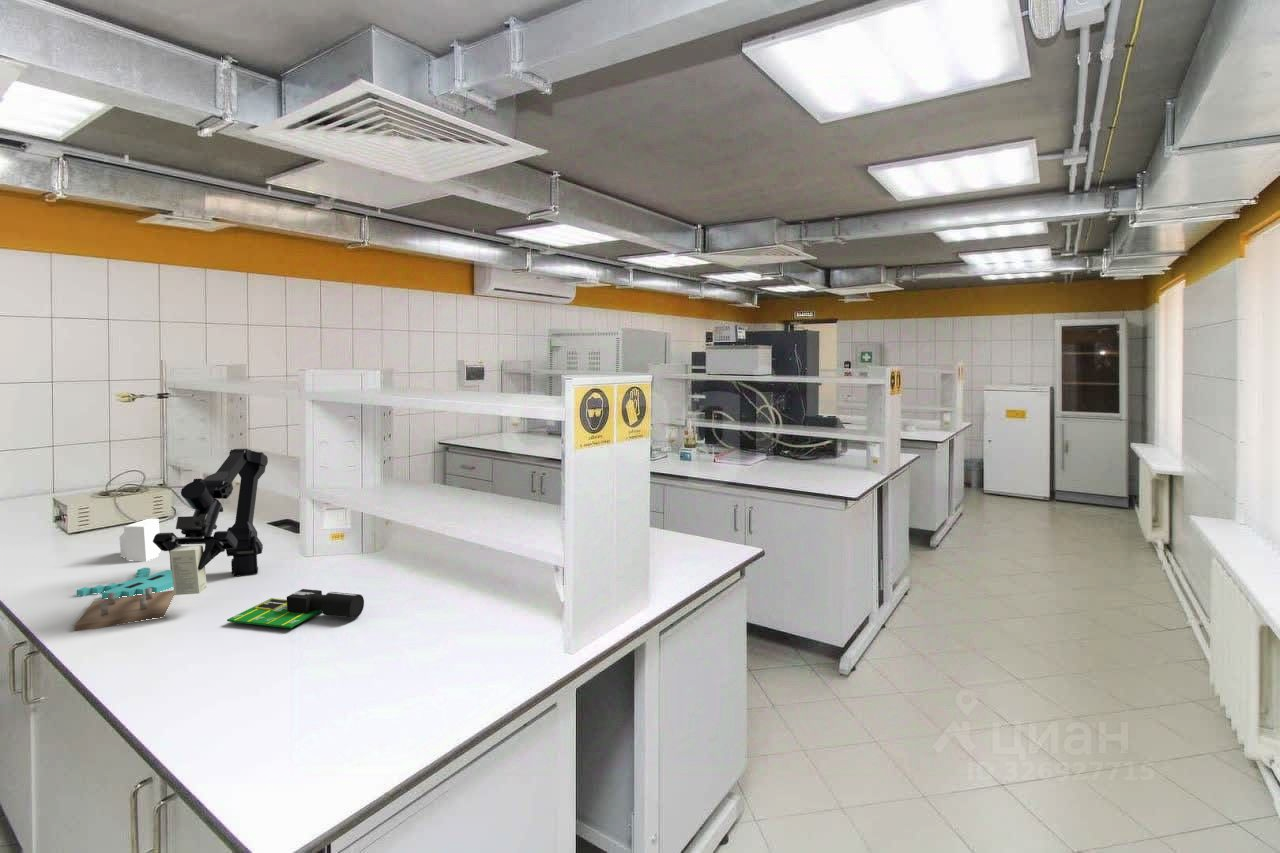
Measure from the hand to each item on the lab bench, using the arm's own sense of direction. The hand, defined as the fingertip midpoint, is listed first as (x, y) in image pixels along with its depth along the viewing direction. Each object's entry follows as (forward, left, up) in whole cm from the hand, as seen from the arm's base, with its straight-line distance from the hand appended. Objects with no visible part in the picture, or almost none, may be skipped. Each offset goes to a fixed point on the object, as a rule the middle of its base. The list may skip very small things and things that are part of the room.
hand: (185, 569), depth 167 cm
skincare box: (0, -1, -7) cm, 7 cm away
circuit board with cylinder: (-26, +16, -13) cm, 33 cm away
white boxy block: (+21, -67, -13) cm, 71 cm away
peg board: (+15, -10, -13) cm, 22 cm away
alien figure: (+16, -32, -13) cm, 38 cm away
